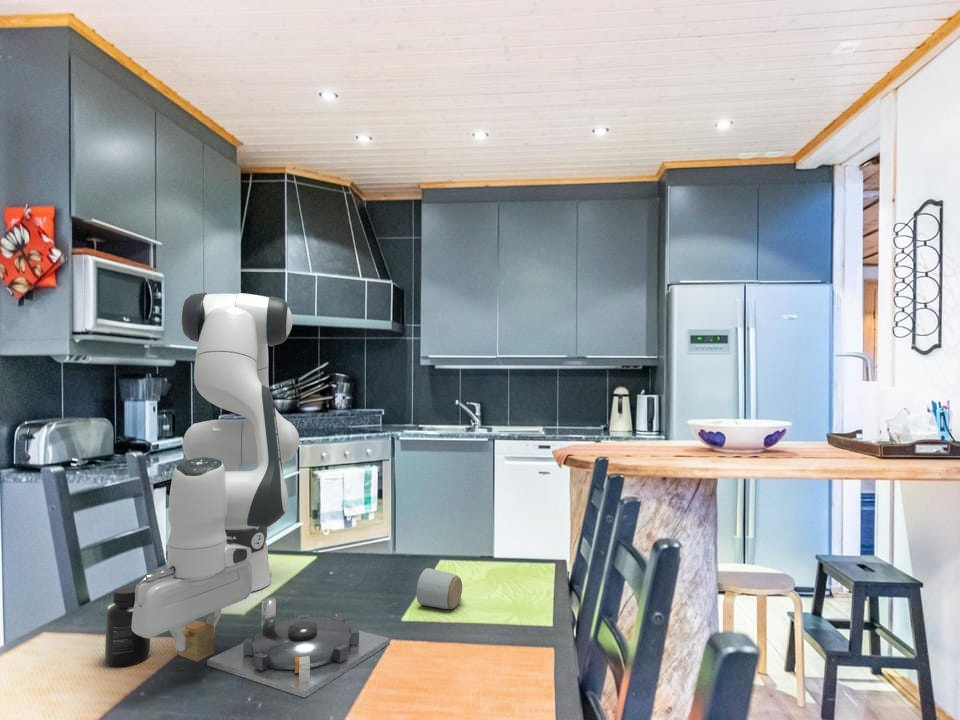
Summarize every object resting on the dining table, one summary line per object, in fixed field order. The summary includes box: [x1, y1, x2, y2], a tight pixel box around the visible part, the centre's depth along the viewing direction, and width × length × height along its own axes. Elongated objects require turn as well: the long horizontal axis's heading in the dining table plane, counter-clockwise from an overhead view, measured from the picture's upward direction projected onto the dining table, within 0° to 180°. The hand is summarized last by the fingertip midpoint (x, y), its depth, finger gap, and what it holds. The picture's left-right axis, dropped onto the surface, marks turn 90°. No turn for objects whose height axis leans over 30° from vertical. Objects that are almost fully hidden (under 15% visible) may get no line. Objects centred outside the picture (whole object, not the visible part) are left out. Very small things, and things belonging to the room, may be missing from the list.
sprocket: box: [242, 597, 360, 673], centre depth 109 cm, size 20×20×8 cm
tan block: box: [175, 619, 215, 662], centre depth 101 cm, size 5×3×5 cm, turn 62°
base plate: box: [206, 630, 391, 699], centre depth 109 cm, size 22×22×4 cm
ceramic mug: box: [415, 567, 463, 610], centre depth 134 cm, size 11×8×8 cm
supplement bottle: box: [104, 584, 151, 668], centre depth 106 cm, size 7×7×12 cm
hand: (195, 643), depth 101 cm, fingers closed on tan block, 3 cm apart
